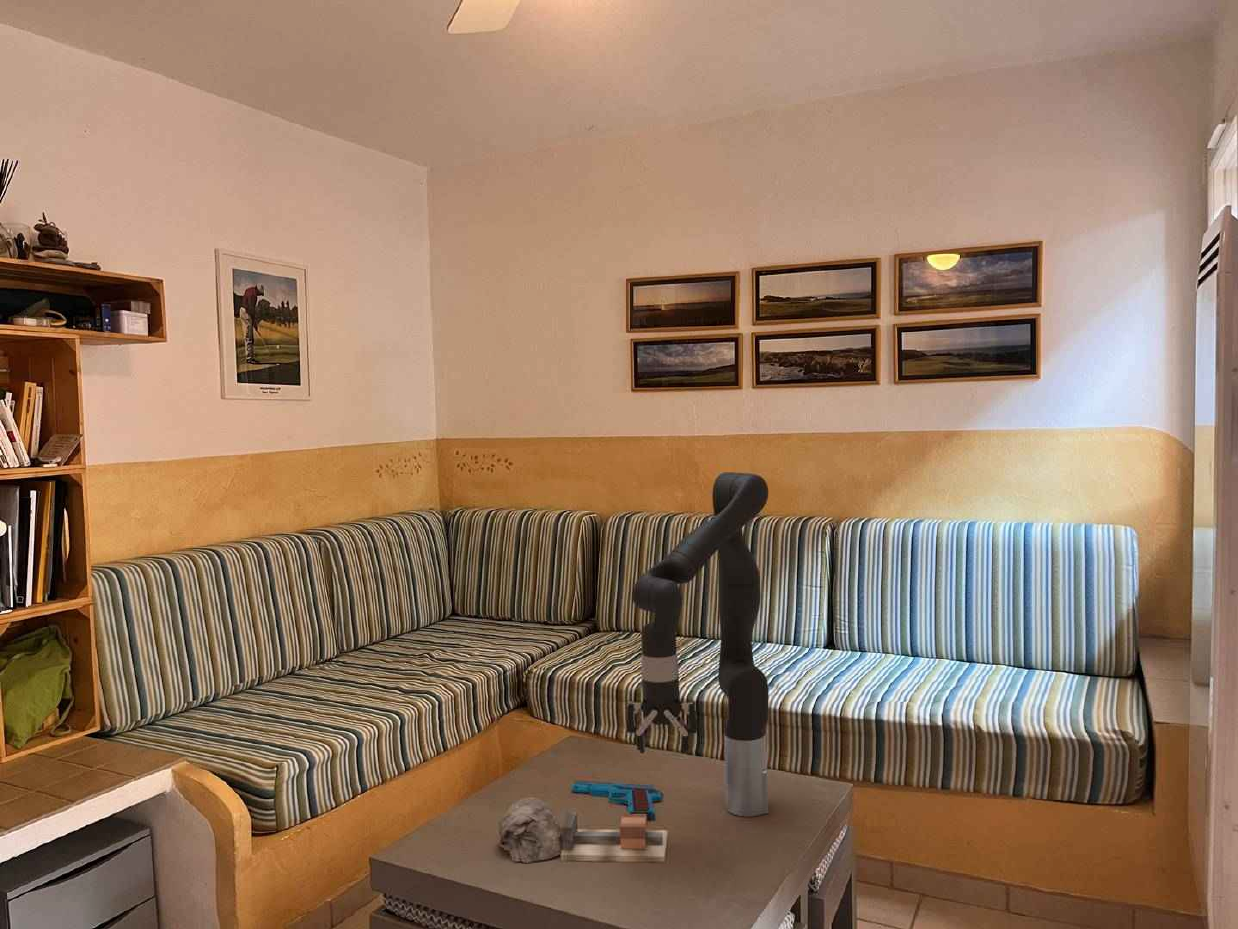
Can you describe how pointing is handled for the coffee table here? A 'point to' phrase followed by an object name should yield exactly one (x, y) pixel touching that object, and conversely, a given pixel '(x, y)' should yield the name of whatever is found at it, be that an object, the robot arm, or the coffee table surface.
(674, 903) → the coffee table surface
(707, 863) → the coffee table surface
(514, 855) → the rock
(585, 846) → the rail board
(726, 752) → the robot arm
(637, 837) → the slider block
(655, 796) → the handgun
